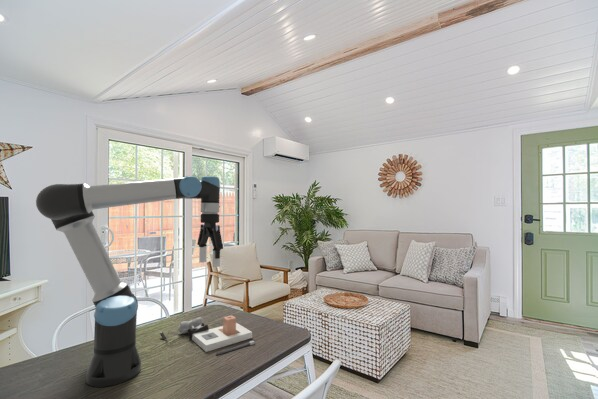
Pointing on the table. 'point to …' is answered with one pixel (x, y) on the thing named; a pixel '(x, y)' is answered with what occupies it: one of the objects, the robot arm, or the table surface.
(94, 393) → the table surface
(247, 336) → the outlet plate
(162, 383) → the table surface
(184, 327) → the clip-on lamp
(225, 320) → the block
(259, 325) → the table surface
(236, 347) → the cable
